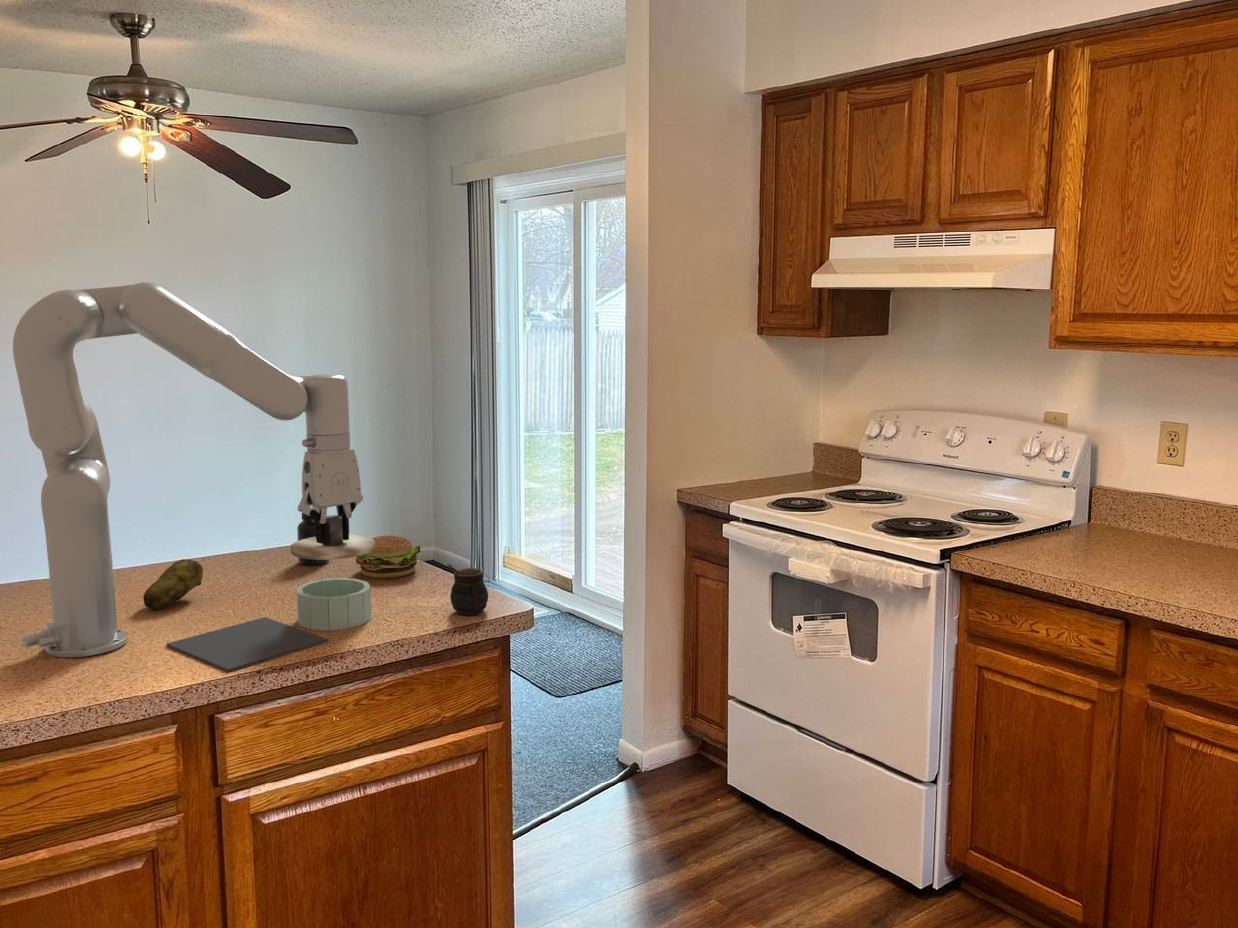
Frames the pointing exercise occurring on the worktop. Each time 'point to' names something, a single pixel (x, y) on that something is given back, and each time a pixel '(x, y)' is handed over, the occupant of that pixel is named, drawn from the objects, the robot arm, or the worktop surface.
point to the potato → (173, 584)
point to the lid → (333, 544)
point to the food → (389, 558)
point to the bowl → (333, 604)
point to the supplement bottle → (307, 531)
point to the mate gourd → (468, 591)
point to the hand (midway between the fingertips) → (332, 540)
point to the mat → (246, 643)
